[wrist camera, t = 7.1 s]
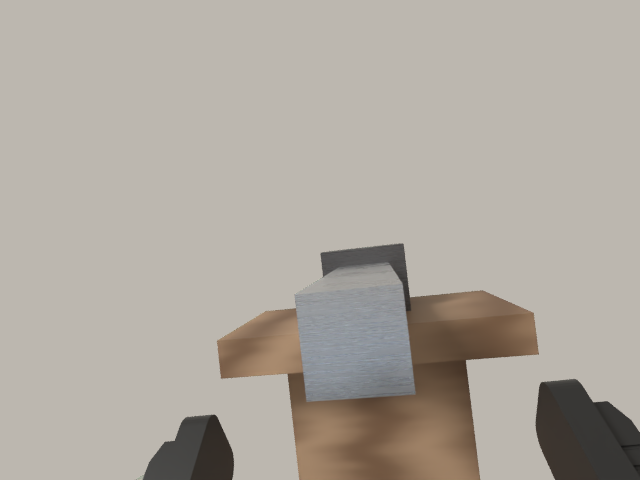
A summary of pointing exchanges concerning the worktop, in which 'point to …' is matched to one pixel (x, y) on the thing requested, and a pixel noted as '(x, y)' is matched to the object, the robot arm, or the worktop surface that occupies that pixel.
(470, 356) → the stand
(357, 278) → the grey metal bar
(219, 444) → the robot arm
